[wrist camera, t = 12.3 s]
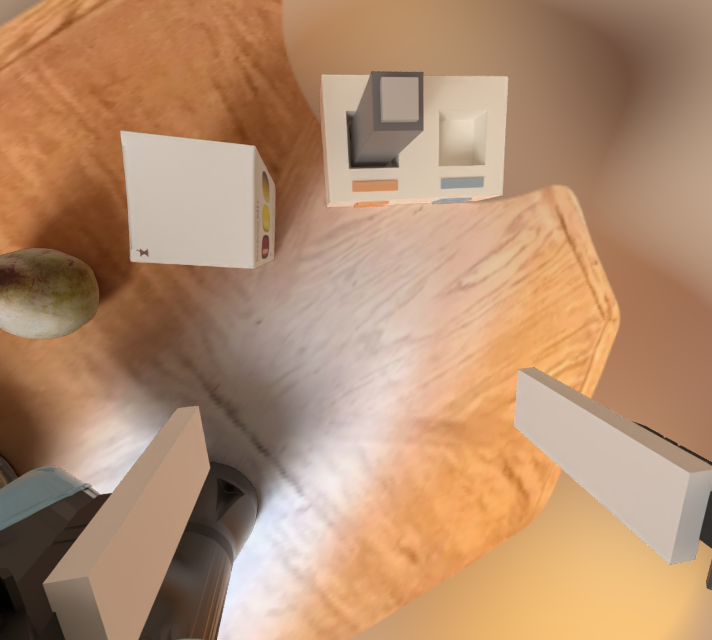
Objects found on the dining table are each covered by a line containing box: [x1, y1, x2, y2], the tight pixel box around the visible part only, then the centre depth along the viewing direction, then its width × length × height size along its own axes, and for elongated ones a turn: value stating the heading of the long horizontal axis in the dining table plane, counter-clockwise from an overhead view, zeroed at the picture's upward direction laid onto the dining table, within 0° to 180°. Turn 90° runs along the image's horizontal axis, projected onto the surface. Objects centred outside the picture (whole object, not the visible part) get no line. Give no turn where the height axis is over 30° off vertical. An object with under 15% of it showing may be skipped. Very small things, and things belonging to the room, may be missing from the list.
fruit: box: [0, 248, 99, 339], centre depth 34 cm, size 10×9×12 cm
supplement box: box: [120, 130, 276, 269], centre depth 32 cm, size 10×9×17 cm
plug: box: [349, 72, 424, 167], centre depth 31 cm, size 4×4×14 cm
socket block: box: [319, 74, 508, 208], centre depth 38 cm, size 20×12×6 cm, turn 93°
